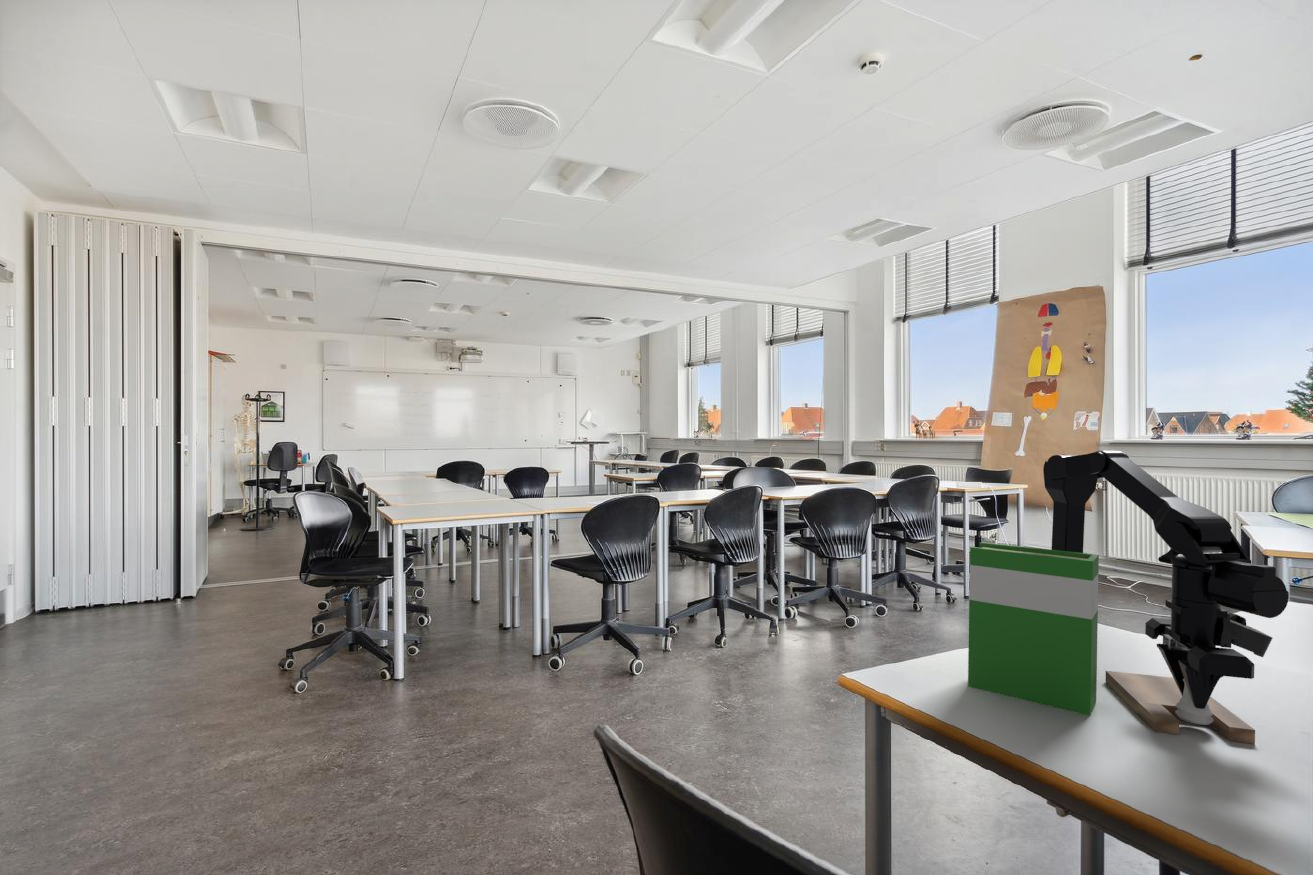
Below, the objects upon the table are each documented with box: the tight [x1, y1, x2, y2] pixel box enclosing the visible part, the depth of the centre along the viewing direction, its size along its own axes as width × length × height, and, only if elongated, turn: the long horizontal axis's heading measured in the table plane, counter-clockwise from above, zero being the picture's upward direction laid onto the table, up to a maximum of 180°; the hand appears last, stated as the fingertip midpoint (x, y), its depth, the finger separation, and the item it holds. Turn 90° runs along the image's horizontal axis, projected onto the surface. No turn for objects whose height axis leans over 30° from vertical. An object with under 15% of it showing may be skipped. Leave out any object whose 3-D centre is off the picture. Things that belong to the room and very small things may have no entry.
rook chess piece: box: [1175, 670, 1213, 726], centre depth 97 cm, size 4×4×8 cm
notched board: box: [1104, 670, 1256, 745], centre depth 104 cm, size 12×20×2 cm, turn 163°
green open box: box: [967, 541, 1100, 717], centre depth 109 cm, size 18×7×24 cm, turn 50°
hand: (1193, 703), depth 97 cm, fingers closed on rook chess piece, 3 cm apart
